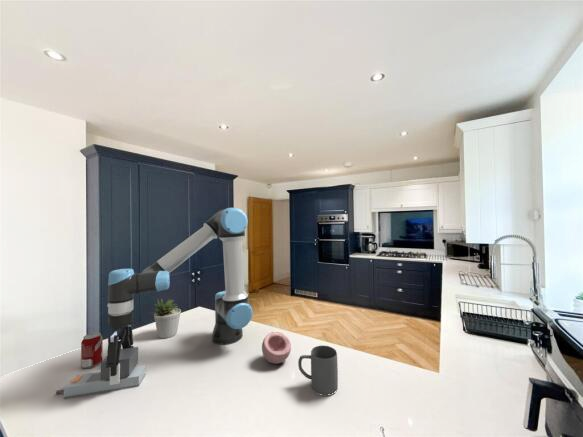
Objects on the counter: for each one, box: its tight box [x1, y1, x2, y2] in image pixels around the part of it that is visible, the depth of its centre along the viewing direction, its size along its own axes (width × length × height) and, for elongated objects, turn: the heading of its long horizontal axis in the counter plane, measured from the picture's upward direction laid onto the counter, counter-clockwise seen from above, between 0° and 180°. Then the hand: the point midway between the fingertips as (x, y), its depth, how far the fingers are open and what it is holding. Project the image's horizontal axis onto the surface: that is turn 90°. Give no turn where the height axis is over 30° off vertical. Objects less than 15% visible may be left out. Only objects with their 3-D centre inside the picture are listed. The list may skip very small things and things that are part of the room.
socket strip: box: [55, 364, 147, 399], centre depth 84 cm, size 26×7×4 cm, turn 105°
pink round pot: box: [261, 331, 292, 365], centre depth 98 cm, size 12×12×11 cm
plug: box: [99, 346, 139, 380], centre depth 85 cm, size 9×8×8 cm
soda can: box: [80, 331, 104, 369], centre depth 98 cm, size 7×7×12 cm
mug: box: [297, 345, 339, 396], centre depth 82 cm, size 14×9×12 cm
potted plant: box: [149, 298, 182, 339], centre depth 124 cm, size 13×14×20 cm
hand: (120, 375), depth 85 cm, fingers closed on plug, 8 cm apart
